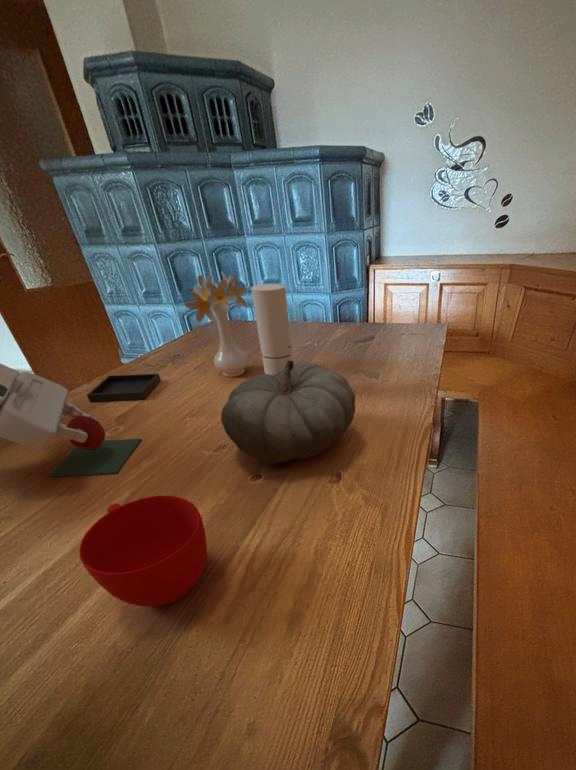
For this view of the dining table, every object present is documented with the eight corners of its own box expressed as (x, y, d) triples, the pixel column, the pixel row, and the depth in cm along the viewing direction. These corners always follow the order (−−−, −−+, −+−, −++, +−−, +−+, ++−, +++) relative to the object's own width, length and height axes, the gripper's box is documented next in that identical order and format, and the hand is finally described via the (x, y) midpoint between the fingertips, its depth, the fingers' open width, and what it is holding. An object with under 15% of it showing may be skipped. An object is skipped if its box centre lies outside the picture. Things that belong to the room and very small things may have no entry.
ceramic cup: (174, 523, 60) (152, 471, 54) (238, 579, 51) (221, 525, 45) (85, 573, 52) (48, 520, 46) (143, 650, 44) (107, 596, 37)
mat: (49, 477, 70) (48, 475, 70) (82, 443, 80) (81, 441, 79) (117, 474, 71) (116, 472, 70) (141, 440, 80) (140, 438, 80)
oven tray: (90, 402, 95) (86, 394, 94) (111, 382, 105) (108, 375, 103) (144, 400, 96) (142, 392, 94) (161, 380, 105) (158, 373, 104)
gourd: (387, 435, 76) (371, 350, 65) (283, 506, 65) (243, 419, 55) (316, 404, 92) (293, 333, 82) (224, 457, 82) (185, 383, 71)
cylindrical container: (301, 391, 99) (290, 284, 84) (290, 403, 93) (276, 291, 78) (276, 388, 100) (260, 283, 85) (263, 400, 95) (244, 289, 80)
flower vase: (201, 387, 101) (172, 283, 86) (220, 362, 116) (198, 269, 101) (250, 386, 101) (230, 282, 86) (263, 361, 116) (248, 268, 101)
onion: (107, 439, 77) (90, 402, 72) (114, 450, 74) (97, 413, 69) (74, 449, 74) (54, 411, 69) (80, 461, 71) (59, 423, 66)
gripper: (-1, 382, 70) (84, 418, 80) (-35, 433, 56) (74, 470, 65) (15, 354, 69) (99, 394, 78) (-15, 398, 54) (92, 441, 64)
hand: (88, 429), depth 72 cm, fingers closed on onion, 6 cm apart
